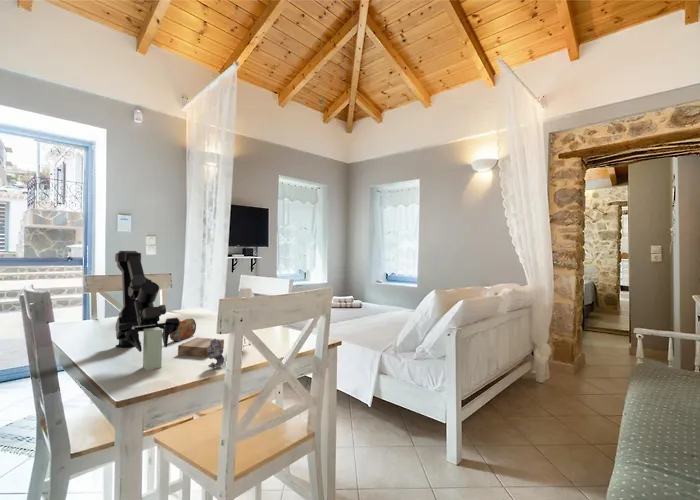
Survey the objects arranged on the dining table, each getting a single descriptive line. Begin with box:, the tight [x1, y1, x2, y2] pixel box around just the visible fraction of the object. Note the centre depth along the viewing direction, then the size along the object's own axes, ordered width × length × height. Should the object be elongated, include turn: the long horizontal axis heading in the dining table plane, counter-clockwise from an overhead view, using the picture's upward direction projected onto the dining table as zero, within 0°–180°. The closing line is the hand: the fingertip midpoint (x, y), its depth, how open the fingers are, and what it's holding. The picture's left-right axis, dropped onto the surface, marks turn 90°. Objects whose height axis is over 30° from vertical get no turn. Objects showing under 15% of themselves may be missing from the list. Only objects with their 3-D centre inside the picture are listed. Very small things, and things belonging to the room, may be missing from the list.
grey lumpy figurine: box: [207, 338, 225, 369], centre depth 118 cm, size 5×5×10 cm
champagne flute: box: [238, 287, 253, 344], centre depth 148 cm, size 7×7×24 cm
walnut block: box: [177, 337, 225, 358], centre depth 136 cm, size 12×12×4 cm
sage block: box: [142, 327, 163, 372], centre depth 117 cm, size 4×4×13 cm
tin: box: [169, 318, 197, 342], centre depth 154 cm, size 15×3×8 cm, turn 168°
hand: (153, 348), depth 116 cm, fingers open, 7 cm apart
